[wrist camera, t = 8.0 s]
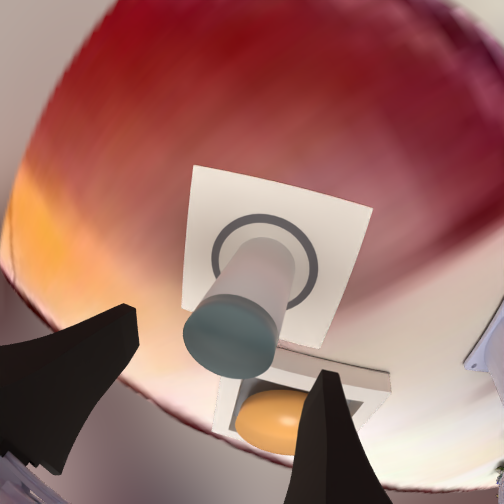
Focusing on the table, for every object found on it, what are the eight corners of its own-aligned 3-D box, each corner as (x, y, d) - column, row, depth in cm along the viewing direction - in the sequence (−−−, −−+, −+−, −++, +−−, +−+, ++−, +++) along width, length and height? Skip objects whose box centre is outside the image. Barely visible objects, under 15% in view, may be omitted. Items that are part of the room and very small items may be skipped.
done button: (355, 402, 17) (354, 419, 16) (318, 447, 21) (316, 461, 19) (249, 378, 19) (243, 394, 17) (234, 427, 22) (229, 441, 21)
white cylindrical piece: (302, 247, 15) (285, 328, 9) (286, 300, 17) (261, 389, 11) (240, 229, 16) (185, 295, 10) (229, 282, 17) (181, 360, 11)
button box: (388, 372, 18) (391, 392, 16) (331, 443, 23) (329, 459, 21) (233, 334, 20) (224, 353, 18) (218, 416, 25) (211, 431, 23)
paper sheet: (372, 207, 14) (373, 209, 14) (319, 347, 18) (319, 350, 18) (195, 164, 15) (192, 165, 15) (182, 306, 20) (180, 309, 19)
